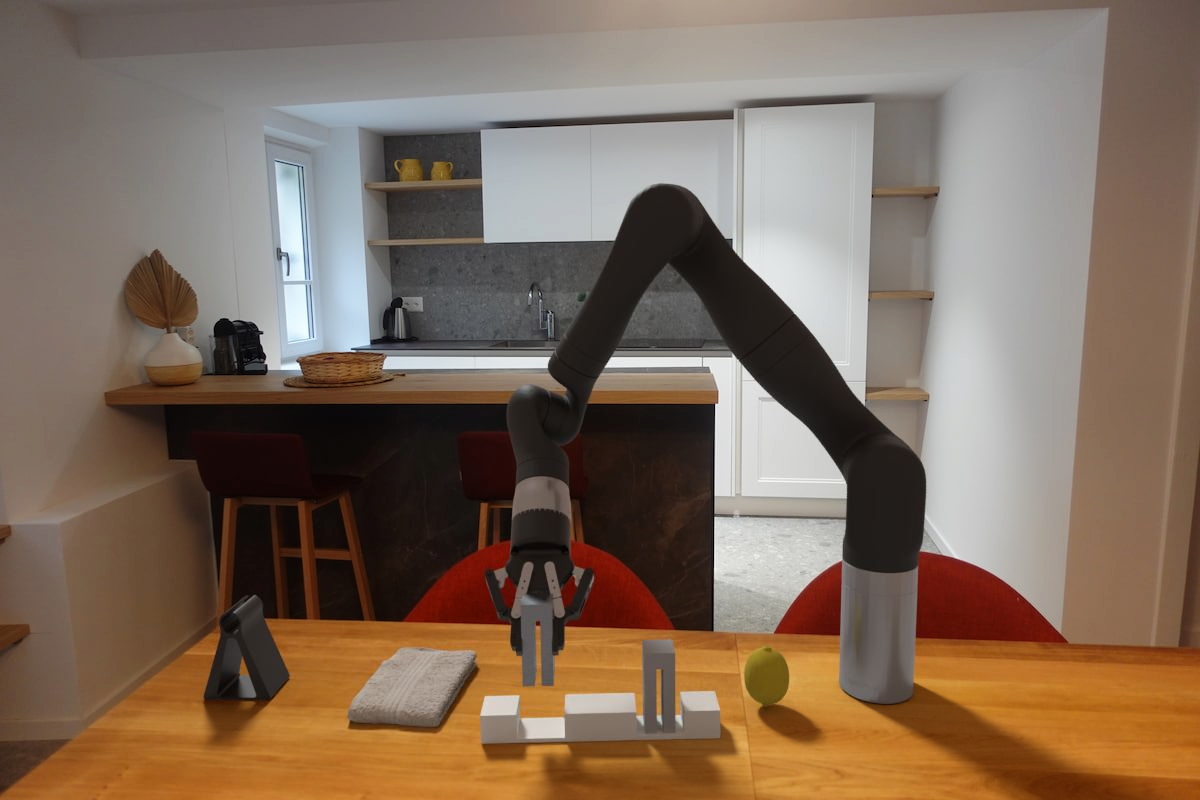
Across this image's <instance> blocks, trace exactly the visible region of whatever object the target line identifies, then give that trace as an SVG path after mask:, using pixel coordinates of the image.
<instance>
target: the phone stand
mask: <svg viewBox="0 0 1200 800" xmlns="http://www.w3.org/2000/svg"><path fill="white" fill-rule="evenodd" d="M248 598H249V594H247V595H245V596H244V597H242V598H241V599H240V600H239V601H237V602H236V603H235V604H234V605H233V606H232V607H230V608H229V609H228V610H226V611H225V612H223V613H222V614H221V615H220V617H219V619H218V626H219V631H220V634H219V635H220V636H219V640H218V643H217V647H216V650H215V654H214V657H213V660H212V665H211V668H210V673H209V675H208V679H207V683H206V686H205V690H204V693H203V697H202V698H203V699H204V700H205V701H207V700H208V701H237V700H238V701H271V699H272V698H273V696H274V695H276V693H277V692H279V689H280V688H281V687H282V686H283V685H284V684H285V683H286V682H287V681H288V680H289V679H290V677H291V675H290V672H289V671H288V667H287V666H286V663H285V661H284V659H283V657H282V655H281V653H280V650H279V648H278V646H277V644H276V642H275V640H274V637H273V635H272V633H271V630H270V628H269V626H268V624H267V622H266V619H265V616H264V611H263V608H264V603H263V601H262V600H261V598H260V597H259V596H257V594H254V595H252V596H251V597H250V598H249V599H248ZM247 599H248V600H247ZM245 600H246V602H245ZM242 660H243V662H244V664H245V668H246V670H247V673H248V675H247V674H246V675H245V674H244V675H242V674H241V673H240V670H241V664H242Z"/></svg>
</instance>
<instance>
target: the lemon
mask: <svg viewBox="0 0 1200 800" xmlns="http://www.w3.org/2000/svg"><path fill="white" fill-rule="evenodd" d="M743 672H744V673H743V678H744V679H743V680H744V686H745V689H746V691H747V693H748V694H749V696H750V697H751V698H752V699H753V701H755V702H757V703H758V704H761V705H762V706H763V707H764V708H768V707H770V706H771V705H775V704H777V703H778V702H780V701H781V700H783V698H784V697H785V696H786V694H787V693H788V689H789V684H790V671H789V667H788V663H787V660H786V659H785V657H784V656H783V654H782V653H781V652H780V651H779V650H777V649H775V648H773V647H771V646H769V645H764V646H763V647H759V648H756V649H755V650H754V651H752V652H751V653H750V654H749V655H748V657H747V659H746V663H745V665H744V671H743Z"/></svg>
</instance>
